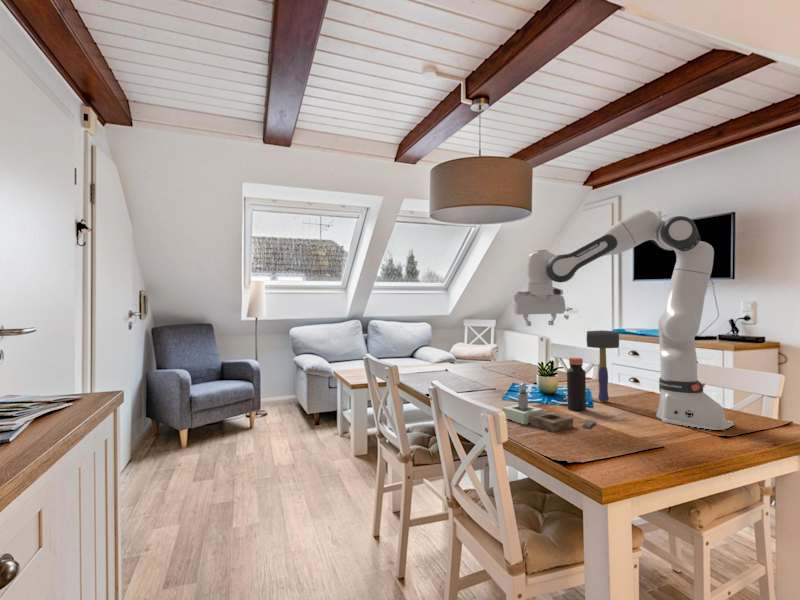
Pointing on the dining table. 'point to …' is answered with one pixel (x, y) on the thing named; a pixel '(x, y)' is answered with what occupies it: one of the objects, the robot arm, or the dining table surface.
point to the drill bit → (522, 397)
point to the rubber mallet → (603, 356)
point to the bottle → (576, 385)
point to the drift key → (589, 424)
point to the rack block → (521, 413)
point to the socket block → (551, 421)
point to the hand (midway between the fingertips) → (539, 325)
